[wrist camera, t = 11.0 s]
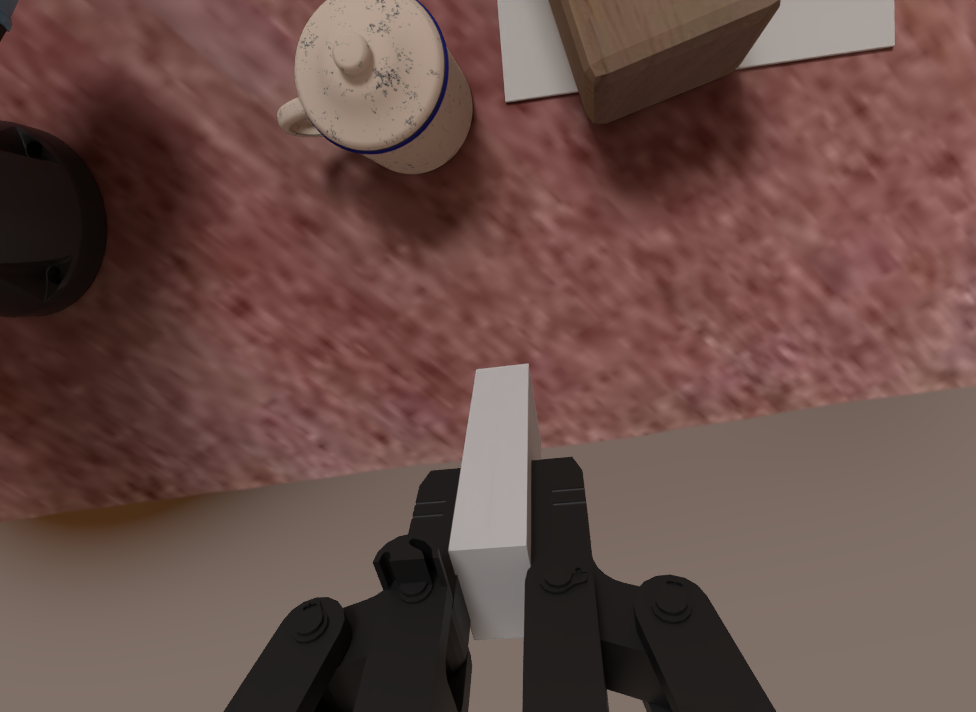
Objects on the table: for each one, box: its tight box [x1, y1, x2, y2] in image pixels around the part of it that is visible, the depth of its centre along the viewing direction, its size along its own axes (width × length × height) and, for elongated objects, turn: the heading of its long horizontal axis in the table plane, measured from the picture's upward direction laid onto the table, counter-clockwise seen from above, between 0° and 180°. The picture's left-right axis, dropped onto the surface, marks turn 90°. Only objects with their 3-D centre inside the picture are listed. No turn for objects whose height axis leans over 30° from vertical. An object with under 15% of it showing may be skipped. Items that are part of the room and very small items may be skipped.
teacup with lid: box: [277, 0, 473, 174], centre depth 37 cm, size 12×9×12 cm
